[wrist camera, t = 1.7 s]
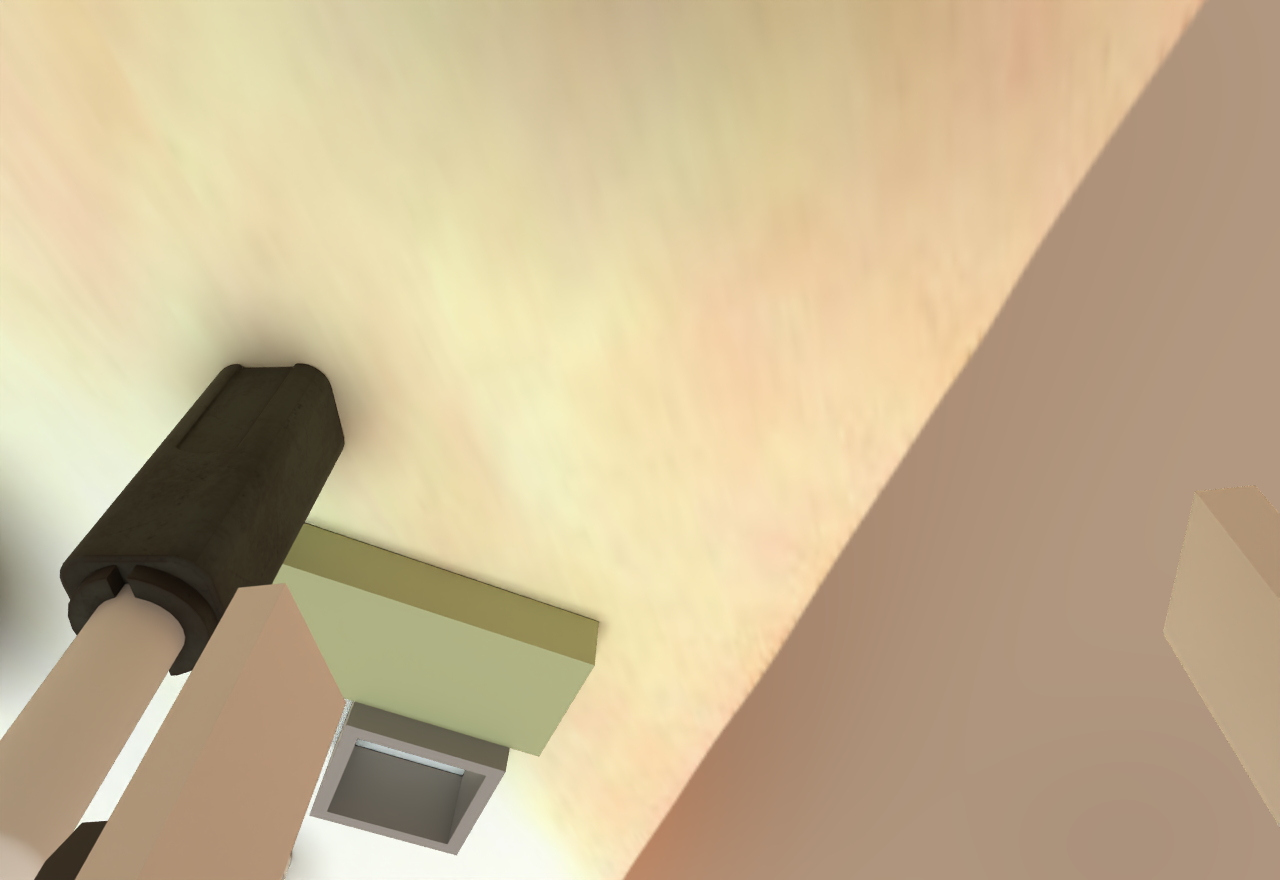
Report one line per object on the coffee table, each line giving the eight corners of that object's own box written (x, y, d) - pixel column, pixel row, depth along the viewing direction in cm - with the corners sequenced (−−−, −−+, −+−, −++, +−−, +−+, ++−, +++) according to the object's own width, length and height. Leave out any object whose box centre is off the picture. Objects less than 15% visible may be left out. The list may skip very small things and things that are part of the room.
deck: (204, 710, 53) (168, 777, 50) (257, 507, 45) (219, 569, 41) (496, 794, 57) (484, 862, 53) (598, 621, 48) (592, 688, 45)
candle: (325, 362, 40) (-48, 945, 19) (349, 458, 43) (46, 1055, 22) (210, 364, 40) (-281, 942, 19) (242, 459, 43) (-157, 1051, 22)
